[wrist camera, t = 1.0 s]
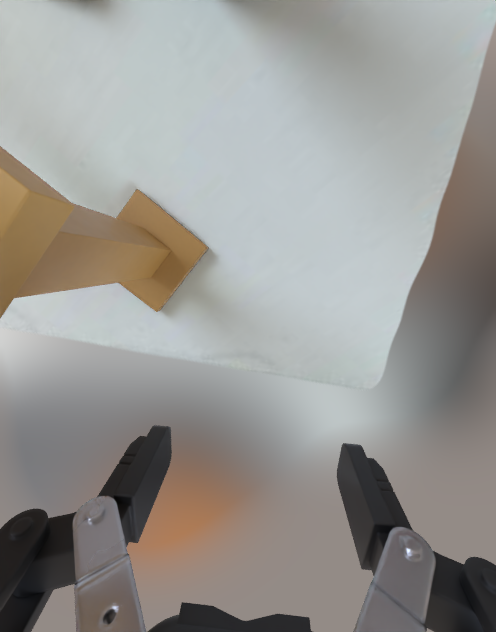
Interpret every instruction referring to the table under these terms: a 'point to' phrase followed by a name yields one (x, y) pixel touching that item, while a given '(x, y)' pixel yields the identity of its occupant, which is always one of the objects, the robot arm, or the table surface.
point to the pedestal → (86, 243)
